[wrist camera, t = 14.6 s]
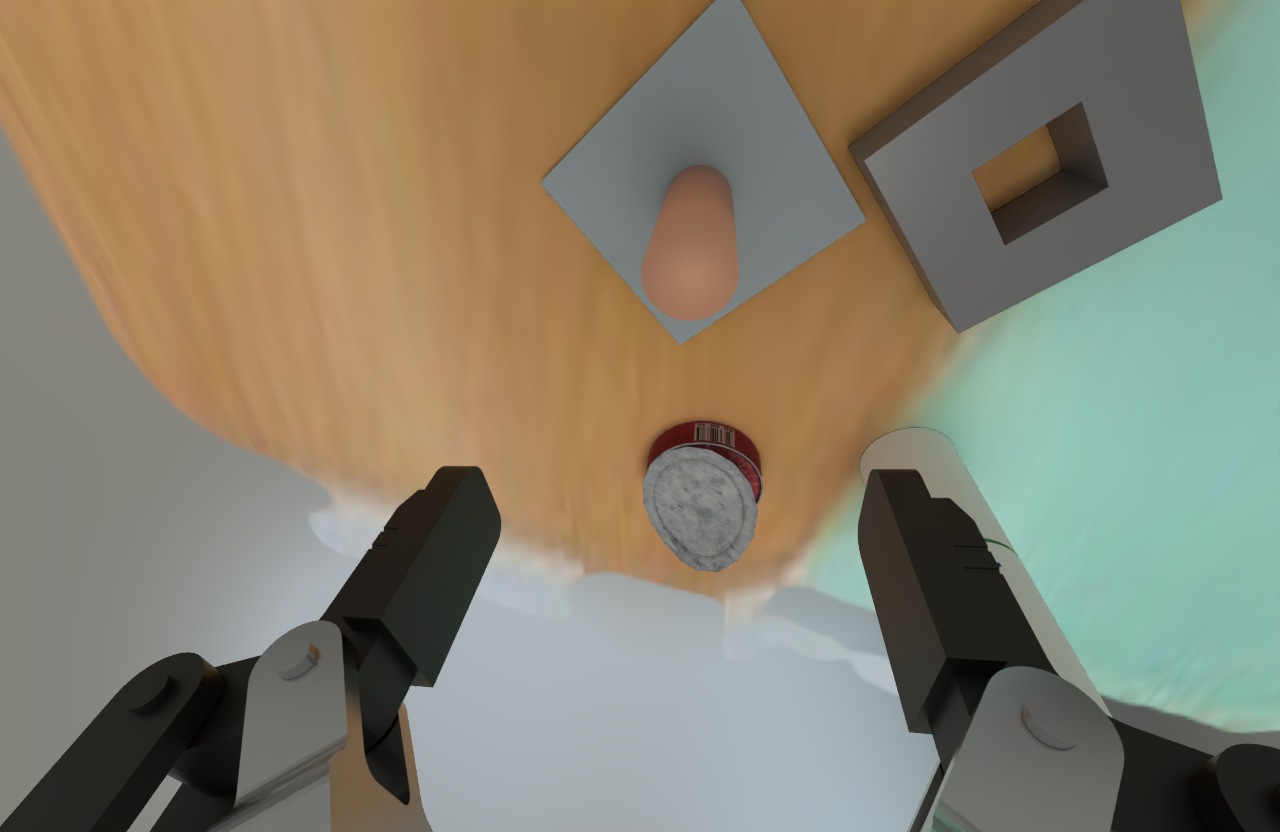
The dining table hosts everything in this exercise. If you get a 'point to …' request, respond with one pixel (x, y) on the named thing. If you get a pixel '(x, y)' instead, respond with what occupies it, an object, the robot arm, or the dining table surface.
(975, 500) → the cylindrical container
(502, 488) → the dining table surface
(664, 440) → the canned food
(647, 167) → the mat
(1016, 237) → the gray square hole block
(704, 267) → the plug
